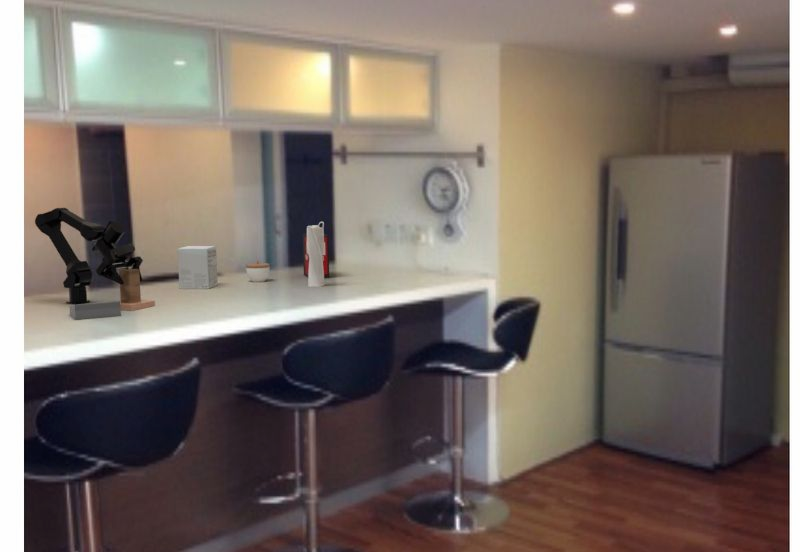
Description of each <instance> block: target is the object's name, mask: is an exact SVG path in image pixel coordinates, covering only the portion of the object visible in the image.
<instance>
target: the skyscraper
mask: <svg viewBox="0 0 800 552" xmlns="http://www.w3.org/2000/svg"><path fill="white" fill-rule="evenodd" d="M320 224H322V226H321V227H320ZM324 227H325V222H324V221H320V222H319V223H318V224H316V225H315V224H314V225H313V224H312V225H308V226H306V234H307V248H308V254H309V274H308V277H307V278H308V279H307V281H308V282H307V283H308V285H307V286H308V288H312V287H313V288H322V287H324V286H325V279H324V269H323V261H322V255H323V249H324V234H325V233H324V232H325V231H324V230H325V229H324Z"/></svg>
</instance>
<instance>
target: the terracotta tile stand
mask: <svg viewBox="0 0 800 552" xmlns="http://www.w3.org/2000/svg"><path fill="white" fill-rule="evenodd" d="M119 301H120V306H121V311H129V312H130V311H137V310H142V309H147V308H152V307H156V302H155V300H152V299H151V300H150V299H141V301H140V302H135V303H121V300H119Z"/></svg>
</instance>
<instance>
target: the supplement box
mask: <svg viewBox="0 0 800 552" xmlns="http://www.w3.org/2000/svg"><path fill="white" fill-rule="evenodd" d="M217 258H218V257H217V246H216V245H210V246H209V245H187V246H182V247H179V248H177V261H178V263H177V265H178V286H179V287H178V288H179V290H185V289H186V290H187V289H188V290H195V289H196V290H209V289H211V288H214V287H216V286H218V260H217Z"/></svg>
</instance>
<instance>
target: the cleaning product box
mask: <svg viewBox="0 0 800 552" xmlns="http://www.w3.org/2000/svg"><path fill="white" fill-rule="evenodd" d="M329 238H330V237H329V235H328V234H326V233H324V249H323V255H322V261H323V269H324V280H325V279H330V251H329V250H330V247H329V246H330V245H329V244H330V243H329V242H330V241H329ZM302 252H303V256H302V258H303V262H302V263H303V276H305V277H306V278H308V274H309V254H308V248H307V233H302Z"/></svg>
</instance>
